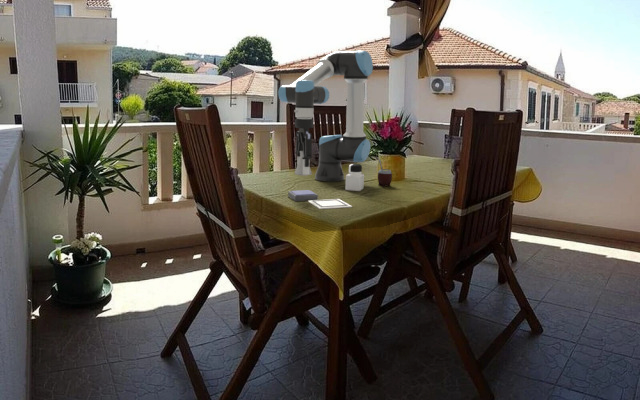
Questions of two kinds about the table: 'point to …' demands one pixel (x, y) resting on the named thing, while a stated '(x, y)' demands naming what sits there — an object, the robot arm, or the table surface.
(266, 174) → the table surface
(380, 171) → the mate gourd
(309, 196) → the pad
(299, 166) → the flask
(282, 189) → the table surface
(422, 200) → the table surface
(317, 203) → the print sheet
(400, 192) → the table surface
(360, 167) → the medicine bottle
